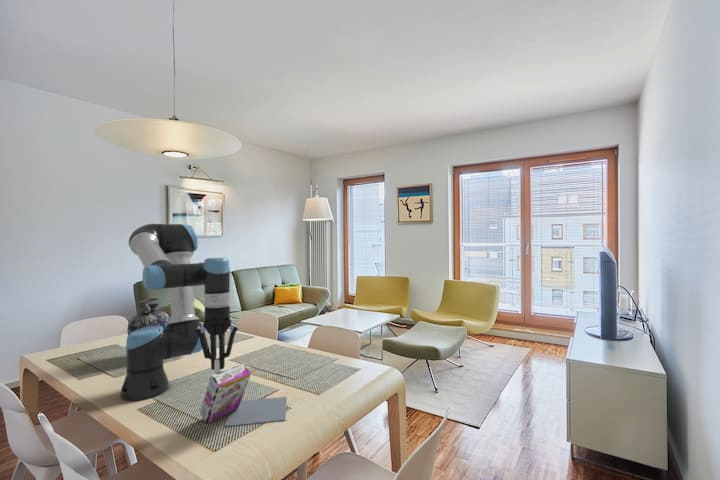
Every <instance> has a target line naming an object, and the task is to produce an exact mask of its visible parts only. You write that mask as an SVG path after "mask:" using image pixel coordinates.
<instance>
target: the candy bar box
mask: <svg viewBox="0 0 720 480" xmlns="http://www.w3.org/2000/svg"><path fill="white" fill-rule="evenodd" d="M251 375H252V373H251V372H250V370H249V369H248V367H247V366H246V365H245V364H244V363H242V364H239V365H236V366H233V367H231V368H228V369H224V370H221V372H219V373H216V374H215V373H213V374H211V375H210V378H209V381H208V385H207V387H206V390H205V391H206V392H205V394H204V397H203V401H202V404H201V407H200V411H199V414H200V415H201V417H202V420H203V421H204V422H205V424H209V423H211V422H213V421H216V420H217V419H219V418H221V417H223V416H225V415H229V413H230V412H232V411H234V410H236V409H238V407H239V405H240V402H241V401H242V398H243V396H244V393H245V391H246V389H247V385H248V382H249V379H250V377H251Z"/></svg>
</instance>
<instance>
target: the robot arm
mask: <svg viewBox="0 0 720 480" xmlns="http://www.w3.org/2000/svg"><path fill="white" fill-rule="evenodd" d="M198 243H199V241H198V234H197V232H196V230H195V229H194V227H193V226H192V225H189V224H181V223H177V224H176V223H174V224H173V223H148V224H145V225H141V226H139V227H138V228H136V229H134V231H133V232H132V233H131V234H130V236H129V239H128V245H129V248H130V251H131V252H132V253H133V254H134V255H136V256H138V258H139V261H140V262H141V264H142V266H143V267H144V268H143V270H142V284H143V287H144V289H146V290H148V291H149V290H157V291H159V290H164V289H168V291H169V293H168V294H169V305H170V307H169V308H170V317H171V320H170V321H169V322H168V323H167V328H166V329H164V328H163V327H162V326H160V325H156V326H149V327H145V328H141V329H138V330H136V331H133V332H132V333H130V334H129V335H128V334H127V337H126V345H125V350H126V374H125V377H124V381H123V383H122V386H121V390H120V398H121V399H122V400H125V401H141V400H146V399H150V398H153V397H157V396H160V395H161V394H163V393H165V392H166V391H167V390H168V389H169V387H170V386H169V384H170V383H169V379H168V375H167V373H166V371H165V368H164V361H165V360H168V359H175V358H179V357H184V356H188V355H189V356H191V355H193V354H197V353H199V352H201V351H202V352H203V356H204V359H209V360H210V369H211V371H212V370H213V371H214V374H216V373H219V372H222V370H223V369H224V368H225V366H226V365H225V364H226V363H225V358H229V356H230V355H231V353H232V347H233V344H234V342H235V337H236V333H237V331H238V330H239V329H240V328H239V325H237V324H234V323H233V322H232V320H231V306H230V305H229V304H230V303H231V301H230V299H231V298H230V297H231V296H230V295H231V294H230V293H231V292H230V291H231V290H230V289H231V288H230V286H231V285H230V284H231V283H230V278H231V277H230V273H231V272H230V270H231V267H230V261H229V259H228V257H207V258H205V259H204V261H203V262H197V263H196V262H195V263H191V258H192V257H193V256H194V252H196V251H197V249H198V246H199V245H198ZM199 286H203V287H204V291H203V292H204V296H203V297H204V306H205V307H204V321H203V322H201V321H200V318H199V317H198V316H196V314H195V311H196V310H195V302H194V290H193V287H199ZM228 329H229V331H230V334H229V337H228V342H227V346H226V347H225V345H226V342H225V341H226V337H225V336H226V332H227V331H228ZM207 333H208V334H209V339H210V348H209V343H208V339H207ZM217 336H218V354H219V357H218V354H217Z"/></svg>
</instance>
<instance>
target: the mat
mask: <svg viewBox="0 0 720 480" xmlns="http://www.w3.org/2000/svg"><path fill="white" fill-rule="evenodd" d="M227 415H228V416H227V418H226V420H225V423H224V428H227V427H226V426H230V427H236V426H237V427H238V425H239V426H247V425H248V424H249V425H257V424H267V423H268V424H269V423H276V422H285V421H286V417H287V396H281V397H271V398H261V399H260V398H259V399H247V400H241V402H240V405H239V407H238V409H236V410H234V411H232V412H230V413H228V414H227Z"/></svg>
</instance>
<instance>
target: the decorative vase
mask: <svg viewBox="0 0 720 480" xmlns="http://www.w3.org/2000/svg"><path fill="white" fill-rule="evenodd" d="M161 303H162V301H161V300H160V299H159V298H156V297H153V298H146V299H141V300H139V302H138V303H137V305H138V306H140V313H138V314H136V315H134V316H133V317H131V318H130V319H129V321H128V324H127V329H126V330H127V336H128V335H129V334H130V333H132V332H133V331H136V330H138V329H141V328H145V327H149V326H156V325H160V326H162V327H163V328H164V329H166V328H167V323H168V322H169V321H170V320H171V315H169V314H168V313H166V312H164V311H161V310H159V308H160V307H159V305H160V304H161Z"/></svg>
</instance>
